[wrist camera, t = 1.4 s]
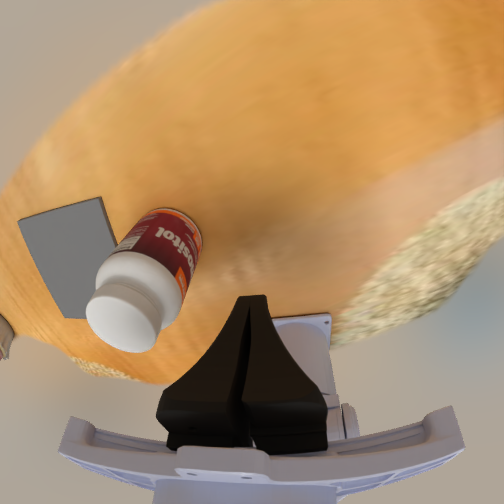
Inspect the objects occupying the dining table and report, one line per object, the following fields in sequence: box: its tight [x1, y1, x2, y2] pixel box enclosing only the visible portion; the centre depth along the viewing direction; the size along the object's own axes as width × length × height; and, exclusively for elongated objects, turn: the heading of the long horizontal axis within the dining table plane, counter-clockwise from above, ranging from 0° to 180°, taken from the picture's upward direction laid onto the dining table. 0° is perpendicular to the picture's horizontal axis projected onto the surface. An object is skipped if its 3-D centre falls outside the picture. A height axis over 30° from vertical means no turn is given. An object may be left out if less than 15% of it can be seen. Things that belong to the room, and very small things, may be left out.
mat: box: [17, 197, 118, 319], centre depth 26 cm, size 14×13×1 cm
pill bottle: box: [86, 208, 202, 353], centre depth 20 cm, size 6×6×11 cm
